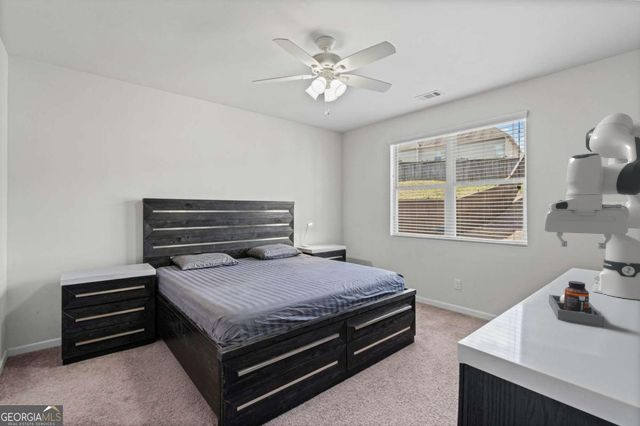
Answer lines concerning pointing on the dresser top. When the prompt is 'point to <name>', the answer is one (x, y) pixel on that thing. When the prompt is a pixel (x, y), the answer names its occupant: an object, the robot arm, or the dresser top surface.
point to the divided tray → (575, 313)
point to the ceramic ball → (562, 298)
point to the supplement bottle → (576, 297)
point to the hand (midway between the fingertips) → (582, 247)
